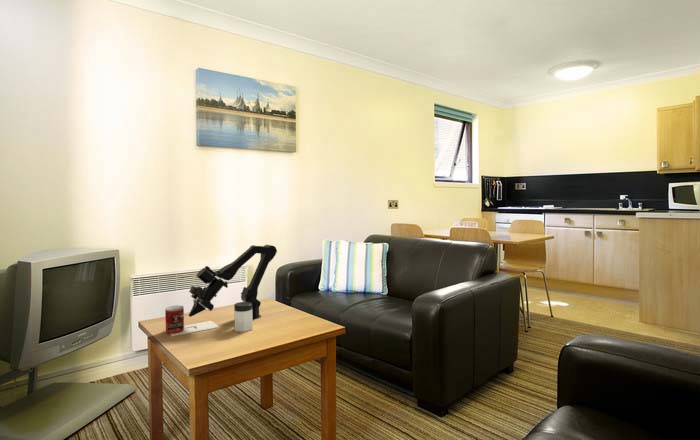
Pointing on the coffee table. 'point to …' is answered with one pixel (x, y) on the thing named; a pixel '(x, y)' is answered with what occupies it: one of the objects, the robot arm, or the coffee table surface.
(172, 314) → the canned food
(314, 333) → the coffee table surface
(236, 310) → the jar
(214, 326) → the letter mat
